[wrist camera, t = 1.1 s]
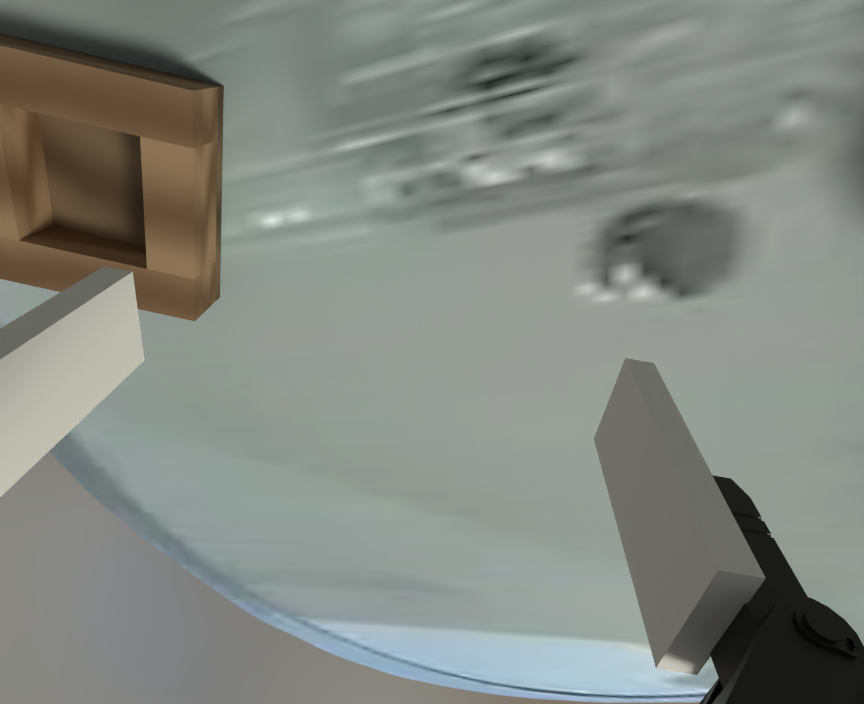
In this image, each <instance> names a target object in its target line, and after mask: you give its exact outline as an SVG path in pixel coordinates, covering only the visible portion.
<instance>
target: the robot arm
mask: <svg viewBox="0 0 864 704" xmlns="http://www.w3.org/2000/svg"><path fill="white" fill-rule="evenodd" d="M143 361H144V353H143V346H142V338H141V331H140V323H139V316H138V308H137V301H136V293H135V285H134V278H133V272H132V271H126V270H121V269H115V268H109V267H102V268H101V269H99V270H97V271H96V272H94V273H92V274H91V275H89V276H87V277H86V278H84V279H82V280H81V281H79V282H77V283H76V284H74V285H72V286H71V287H69V288H67V289H66V290H64V291H62V292H61V293H59V294H57V295H56V296H54V297H52V298H51V299H49V300H47V301H46V302H44V303H42V304H41V305H39V306H37V307H36V308H34V309H32V310H31V311H29V312H27V313H26V314H24V315H22V316H21V317H19V318H17V319H16V320H14V321H12V322H11V323H9V324H7V325H6V326H4V327H2V328H1V329H0V497H1V496H2V495H3V494H4V493H5V492H6V491H7V490H8V489H9V488H10V487H11V486H13V484H15V483H16V482H17V481H18V480H19V479H20V478H21V477H22V476H23V475H24V474H25V473H26V472H27V471H28V470H29V469H30V468H32V467H33V466H34V464H36V463H37V462H38V461H39V460H40V459H41V458H42V457H43V456H44V455H45V454H46V453H47V452H48V451H49V450H50V449H52V448H53V447H54V446H55V445H56V444H57V443H58V442H59V441H60V440H61V439H62V438H63V437H64V436H65V435H66V434H67V433H68V432H69V431H71V430H72V429H73V428H74V427H75V426H76V425H77V424H78V423H79V422H80V421H81V420H82V419H83V418H84V417H85V416H86V415H87V414H88V413H89V412H91V411H92V410H93V409H94V408H95V407H96V406H97V405H98V404H99V403H100V402H101V401H102V400H103V399H104V398H105V397H106V396H107V395H108V394H110V393H111V392H112V391H113V390H114V389H115V388H116V387H117V386H118V385H119V384H120V383H121V382H122V381H123V380H124V379H125V378H126V377H127V376H128V375H130V374H131V373H132V372H133V371H134V370H135V369H136V368H137V367H138V366H139V365H140V364H141V363H142V362H143ZM594 441H595V445H596V449H597V452H598V456H599V460H600V463H601V467H602V471H603V474H604V478H605V482H606V485H607V489H608V493H609V496H610V500H611V504H612V508H613V511H614V515H615V519H616V522H617V526H618V530H619V533H620V537H621V541H622V544H623V548H624V552H625V555H626V559H627V563H628V566H629V570H630V574H631V577H632V581H633V585H634V588H635V592H636V596H637V599H638V603H639V607H640V610H641V614H642V618H643V622H644V625H645V629H646V633H647V636H648V640H649V644H650V647H651V651H652V655H653V658H654V662H655V666H656V668H660V669H666V670H671V671H677V672H683V673H689V674H695V675H697V674H698V673H699V672H700V670H701V669H702V667H703V666H704V665H705V663H706V662H707V660H708V659H709V657H710V656H711V658H712V660H713V663H714V666H715V669H716V671H717V674H718V677H719V678H718V680H717V681H716V682H715V684H714V685H713V686H712V688H711V689H710V690H709V692H708V693H707V694H706V696H705V697H704V698H703V700H702V701H701V702H700V704H864V646H863V644H862V642H861V641H860V639H859V637H858V635H857V633H856V632H855V631H854V630H853V629H852V628H851V627H850V625H849V624H848V623H847V622H846V621H845V620H844V619H843V618H842V617H840V616H839V615H838V614H837V613H835V612H834V611H833V610H831V609H830V608H829V607H827V606H825V605H823V604H821V603H820V602H818V601H816V600H814V599H812V598H809V597H807V595H806V593H805V592H804V590H803V588H802V587H801V585H800V583H799V581H798V580H797V578H796V576H795V574H794V573H793V571H792V569H791V567H790V566H789V564H788V562H787V561H786V559H785V557H784V555H783V554H782V552H781V550H780V548H779V547H778V545H777V543H776V541H775V540H774V538H771V533H770V531H769V529H768V528H767V526H766V524H765V522H764V521H761V518H762V517H761V515H760V514H759V512H758V510H757V509H756V507H755V505H754V503H753V502H752V500H751V498H750V497H749V496H748V495H747V494H746V493H745V492H744V491H743V490H742V489H741V488H740V487H739V486H738V485H737V484H736V483H735V482H734V481H733V480H732V479H730V478H724V477H718V476H713V475H712V474H711V472H710V470H709V468H708V466H707V464H706V462H705V460H704V459H703V457H702V455H701V453H700V451H699V449H698V447H697V445H696V443H695V441H694V439H693V437H692V435H691V434H690V432H689V430H688V428H687V426H686V424H685V422H684V420H683V418H682V416H681V414H680V412H679V410H678V409H677V407H676V405H675V403H674V401H673V399H672V397H671V395H670V393H669V391H668V389H667V387H666V385H665V384H664V382H663V380H662V378H661V376H660V374H659V372H658V370H657V368H656V366H655V364H654V363H650V362H644V361H638V360H632V359H627V358H625V360H624V363H623V366H622V368H621V371H620V373H619V376H618V378H617V381H616V384H615V386H614V389H613V391H612V394H611V396H610V399H609V402H608V404H607V407H606V409H605V412H604V414H603V417H602V420H601V422H600V425H599V427H598V430H597V432H596V435H595V438H594Z"/></svg>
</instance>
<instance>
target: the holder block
mask: <svg viewBox="0 0 864 704" xmlns="http://www.w3.org/2000/svg"><path fill="white" fill-rule="evenodd" d="M223 90H224V86H221V85H217V84H212V83H208V82H204V81H200V80H195V79H191V78H187V77H183V76H178V75H174V74H170V73H166V72H161V71H157V70H153V69H149V68H144V67H140V66H136V65H132V64H127V63H123V62H119V61H115V60H110V59H106V58H102V57H98V56H93V55H89V54H85V53H81V52H76V51H72V50H68V49H64V48H59V47H55V46H51V45H47V44H42V43H38V42H34V41H30V40H25V39H21V38H17V37H12V36H8V35H4V34H0V279H4V280H8V281H13V282H18V283H22V284H27V285H31V286H36V287H40V288H45V289H50V290H54V291H59V292H62V291H64V290H66V289H67V288H69V287H71V286H72V285H74V284H76V283H77V282H79V281H81V280H82V279H84V278H86V277H87V276H89V275H91V274H92V273H94V272H96V271H97V270H99V269H101V268H102V267H109V268H115V269H121V270H126V271H132V272H133V278H134V285H135V293H136V301H137V308H138V309H141V310H146V311H150V312H155V313H159V314H164V315H169V316H173V317H178V318H182V319H187V320H192V321H195V320H196V319H197V318H199V317H200V316H201V315H202V314H203V313H204V312H205V311H206V310H207V309H208V308H209V307H210V306H211V305H212V304H213V303H214V302H215V301H216V300H217V299H218V298H219V297H220V253H221V199H222V145H223Z"/></svg>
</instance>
